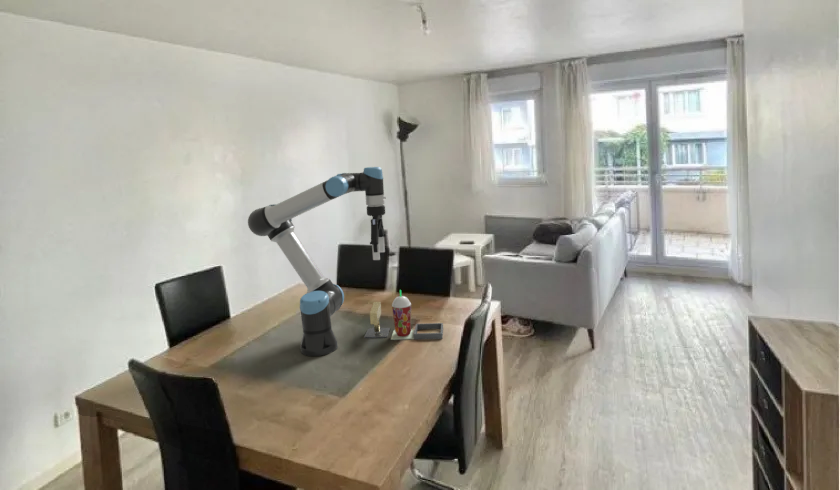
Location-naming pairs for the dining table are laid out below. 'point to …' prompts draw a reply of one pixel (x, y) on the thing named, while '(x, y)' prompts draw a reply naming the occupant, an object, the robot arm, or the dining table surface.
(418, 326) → the socket
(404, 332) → the smoothie
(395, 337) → the mat
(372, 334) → the lock plate
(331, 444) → the dining table surface
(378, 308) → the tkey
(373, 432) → the dining table surface
